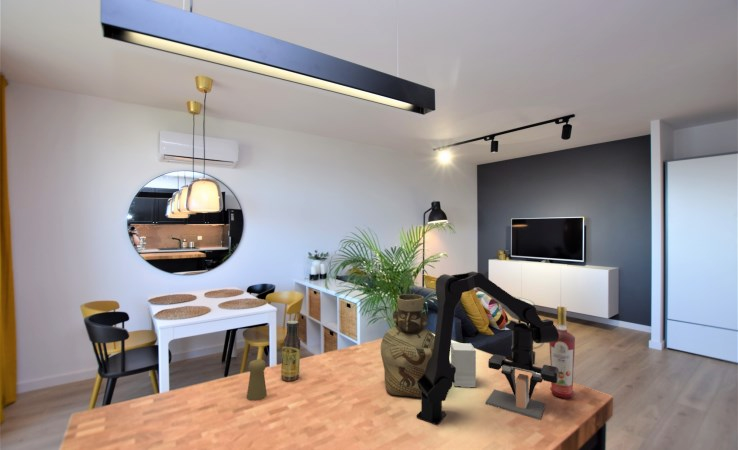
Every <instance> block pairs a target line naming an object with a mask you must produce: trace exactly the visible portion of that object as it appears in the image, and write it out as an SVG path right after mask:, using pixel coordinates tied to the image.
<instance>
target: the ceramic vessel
mask: <svg viewBox="0 0 738 450" xmlns="http://www.w3.org/2000/svg"><path fill="white" fill-rule="evenodd" d="M424 303H425V298H424V296H422V295H420V294H413V293H412V294H411V293H403V294H399V295H398V296H397V310H394V311H393V314H392V320H393V323H395V324H397V325H394V326H393V327H391V328H390V329H388V330H387V331H386V332H385V333H384V334H383V336H382V339H381V342H380V355H381V360H382V365H383V369H384V370H383V371H384V385H385V389H386V392H387V393H388V394H390V395H391V396H397V395H398V396H397V397H402V396H403V397H409V396H411V398H415V397H421V393H422V391H421V390H420V389H419V387H418V384H417V381H418V380H419V379H420V378H421V376H422V375H423V374H424V373H425V370H426V366H427V363H428V361H429V359H430V358H431V356H432V354H433V348H434V340H435V334H433V332H431V331H430V330H429V329H428V328H426V327H425V326H427V324H428V316H427V314H426V313H423V311H422V310H423V307H424Z"/></svg>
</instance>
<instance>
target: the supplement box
mask: <svg viewBox="0 0 738 450" xmlns="http://www.w3.org/2000/svg"><path fill="white" fill-rule="evenodd" d="M476 356H477V351H476V349H475V348H474V346H473V345H472V343H471V342H469V343H467V342H466V343H462V342H451V348H450V363H451V364H452V365H453V366H454V367H456V372H455V376H454V380H455V383H454V382H453V384H452V385H453V387H454V386H461V387H460V388H470V387H477V386H476V385H477V384H476V383H477V381H476V379H477V377H476V376H477V375H476V374H477V370H476V369H477V368H476V367H477V366H476V365H477V363H476V362H477V361H476V359H477V358H476Z"/></svg>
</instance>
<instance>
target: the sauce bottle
mask: <svg viewBox="0 0 738 450" xmlns="http://www.w3.org/2000/svg"><path fill="white" fill-rule="evenodd" d="M298 329H299V321H297V320H287V322H286V335H285V337H284V339H283V343H282V351H281V370H280V371H281V372H280V374H281V380H282V381H285V382H290V381H291V382H294V381H295V380H297V379H298V378H299V374H300V364H301V363H300V362H301V361H300V360H301V359H300V358H301V339H300V337H299V335H298V333H299V330H298Z"/></svg>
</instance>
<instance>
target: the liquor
mask: <svg viewBox="0 0 738 450" xmlns="http://www.w3.org/2000/svg"><path fill="white" fill-rule="evenodd" d="M567 308H568V307H565V306H556V313H557V321H556V329H557V331H558V333H559V338H558V340H557V341H556V342H553V343H548V344H549V360H550V366H554V367H557V368H558V370H559V378H558V381H557V383H552V382H550V383H551V386H550V387H549V390H550V391H551V392H552V394H553V395H554V396H555V397H557V396H558V398H560V397H561V399H570V398H571V397H573V396H574V395H575V391H574V364H575V352H576V351H575V349H576V337H575V336H574V335H573V334H572V333H570V332H568V327H567V311H568V310H567Z"/></svg>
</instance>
